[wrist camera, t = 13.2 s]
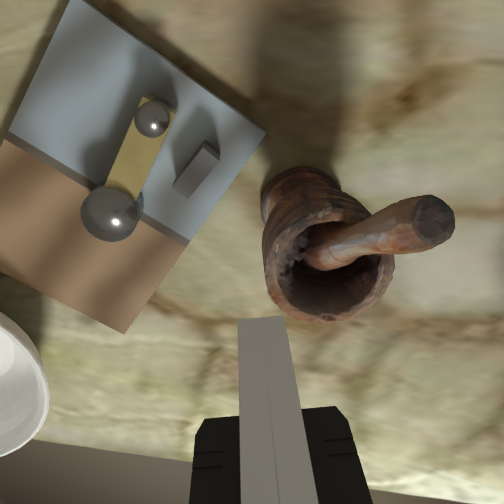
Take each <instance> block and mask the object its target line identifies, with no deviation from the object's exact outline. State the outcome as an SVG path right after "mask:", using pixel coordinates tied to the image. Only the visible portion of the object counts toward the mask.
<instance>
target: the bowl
mask: <svg viewBox="0 0 504 504" xmlns="http://www.w3.org/2000/svg"><path fill="white" fill-rule="evenodd" d="M49 401H50V394H49V388H48V381H47V379H46V376H45V374H44V369H43V363H42V360H41V357H40V355H39V353H38V350H37V348H36V347H35V345H34V344H33V342H32V341H31V339H30V338H29V336H28V335H27V334H26V333H25V332H24V331H23V330H22V329H21V328H20V327H19V326H18V325H17V324H16V323H15V322H14V321H12V320H11V319H10V318H8V317H7V316H6V315H4V314H3V313H1V312H0V457H1V456H4V455H7V454H8V453H11V452H13V451H15V450H17V449H19V448H20V447H22V446H23V445H24V444H26V443H27V442H28V441H29V440H31V439H32V438H33V437H34V436H35V435H36V433H37V432H38V431H39V429H40V428H41V427H42V426H43V424H44V421H45V419H46V416H47V414H48V410H49Z"/></svg>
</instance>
